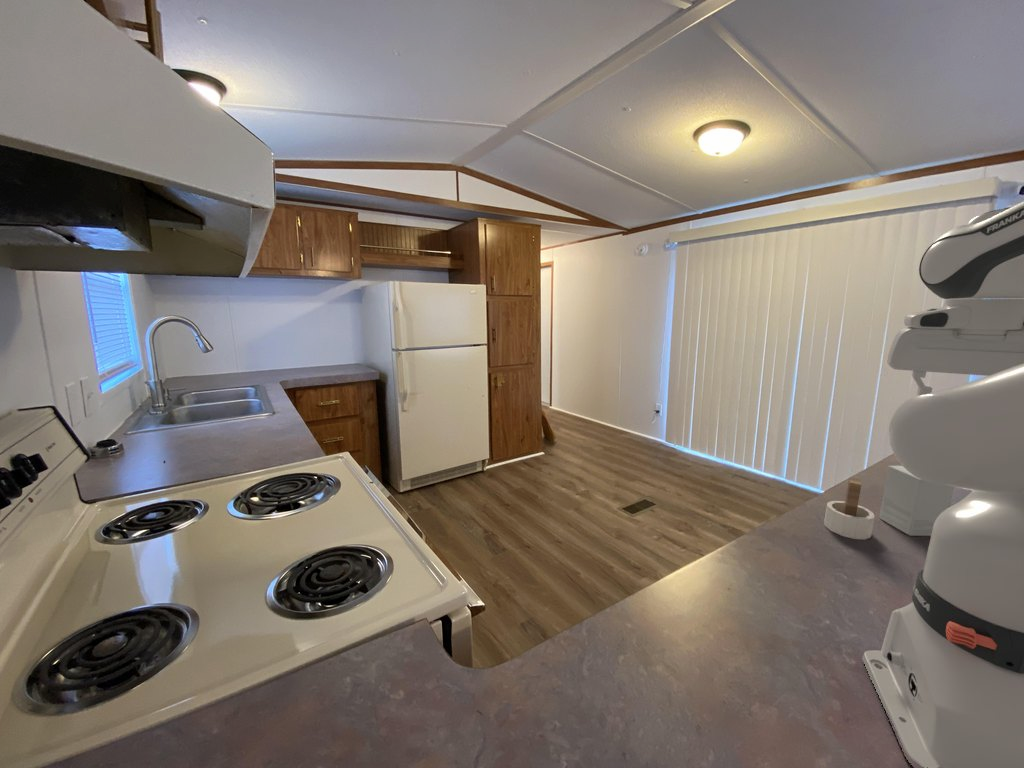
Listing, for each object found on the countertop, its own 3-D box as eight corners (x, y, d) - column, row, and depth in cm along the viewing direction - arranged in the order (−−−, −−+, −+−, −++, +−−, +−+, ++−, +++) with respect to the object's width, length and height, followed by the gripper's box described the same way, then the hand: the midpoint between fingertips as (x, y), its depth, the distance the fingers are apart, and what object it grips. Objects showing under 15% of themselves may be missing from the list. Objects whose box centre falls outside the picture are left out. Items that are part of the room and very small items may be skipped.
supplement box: (945, 536, 83) (958, 479, 81) (908, 536, 83) (920, 479, 81) (911, 517, 90) (922, 464, 88) (877, 517, 91) (887, 464, 88)
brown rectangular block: (853, 529, 84) (861, 484, 82) (842, 526, 85) (849, 482, 83) (852, 523, 87) (860, 479, 85) (842, 520, 88) (849, 477, 86)
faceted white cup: (872, 543, 81) (876, 523, 80) (824, 531, 85) (827, 511, 84) (868, 526, 87) (871, 507, 86) (823, 516, 91) (826, 497, 90)
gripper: (1075, 317, 62) (1051, 405, 65) (893, 315, 74) (880, 390, 76) (1098, 319, 57) (1071, 414, 60) (899, 317, 69) (884, 396, 71)
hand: (962, 400), depth 68 cm, fingers open, 8 cm apart
